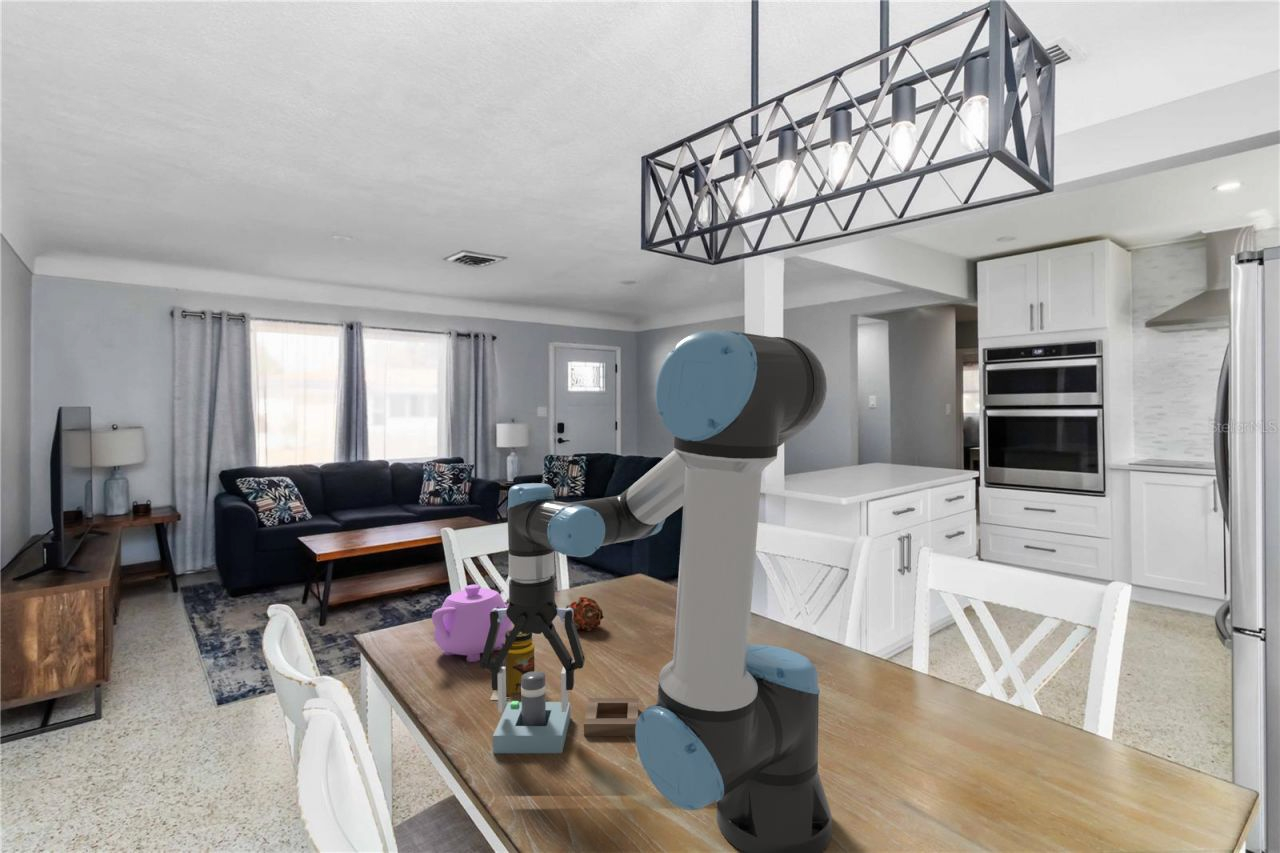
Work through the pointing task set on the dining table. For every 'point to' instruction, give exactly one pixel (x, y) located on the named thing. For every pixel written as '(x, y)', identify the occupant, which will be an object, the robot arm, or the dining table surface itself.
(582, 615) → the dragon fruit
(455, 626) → the teapot
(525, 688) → the plug
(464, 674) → the dining table surface
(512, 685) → the condiment
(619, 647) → the dining table surface
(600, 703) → the wooden square frame
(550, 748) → the port
